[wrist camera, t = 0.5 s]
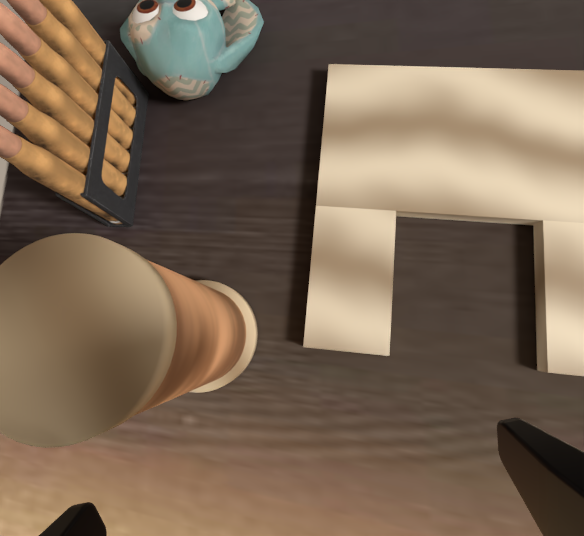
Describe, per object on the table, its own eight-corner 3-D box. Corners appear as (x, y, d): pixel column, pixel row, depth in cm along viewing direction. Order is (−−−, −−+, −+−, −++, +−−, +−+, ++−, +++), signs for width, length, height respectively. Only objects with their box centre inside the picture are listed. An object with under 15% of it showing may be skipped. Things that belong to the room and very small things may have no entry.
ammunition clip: (125, 92, 27) (-28, -98, 15) (148, 92, 27) (12, -101, 15) (107, 226, 25) (-86, 129, 13) (132, 227, 25) (-40, 128, 13)
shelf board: (630, 380, 20) (646, 382, 19) (304, 346, 22) (303, 346, 21) (608, 82, 24) (621, 71, 23) (328, 74, 26) (328, 64, 25)
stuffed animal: (259, -114, 23) (241, 7, 18) (273, 5, 29) (262, 114, 25) (101, -102, 23) (47, 17, 19) (149, 11, 30) (117, 118, 26)
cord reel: (210, 412, 22) (56, 522, 9) (134, 342, 23) (-96, 352, 10) (279, 326, 22) (225, 314, 10) (201, 262, 24) (63, 178, 11)
